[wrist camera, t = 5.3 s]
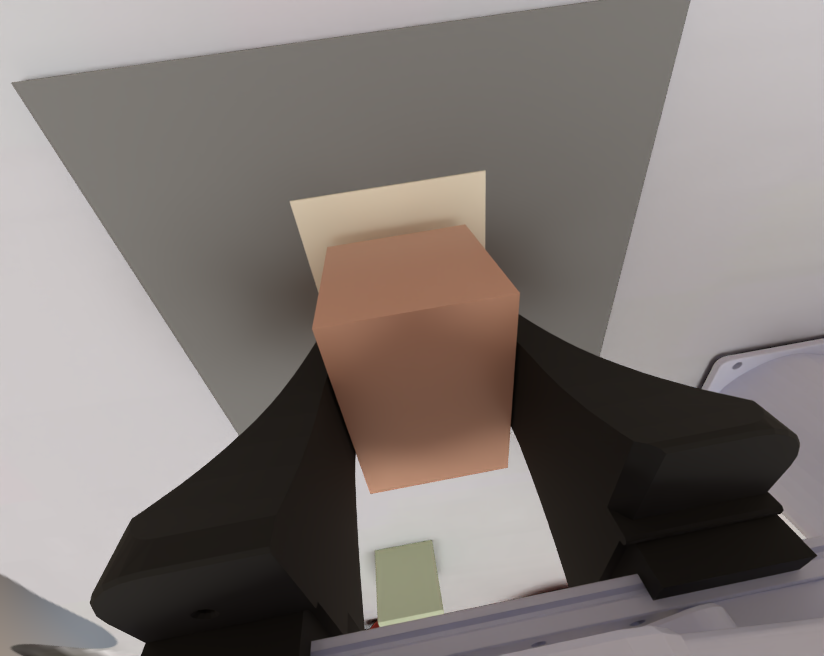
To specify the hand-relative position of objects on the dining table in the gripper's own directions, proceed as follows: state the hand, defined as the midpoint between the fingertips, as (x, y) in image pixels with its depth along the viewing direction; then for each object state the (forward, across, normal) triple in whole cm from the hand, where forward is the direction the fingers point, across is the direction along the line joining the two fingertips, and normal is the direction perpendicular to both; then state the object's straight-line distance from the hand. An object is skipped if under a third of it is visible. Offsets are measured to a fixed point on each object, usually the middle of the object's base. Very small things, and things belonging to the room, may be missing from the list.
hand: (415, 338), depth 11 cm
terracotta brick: (+2, 0, 0) cm, 2 cm away
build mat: (+3, 0, 0) cm, 3 cm away
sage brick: (+3, +3, +25) cm, 25 cm away
